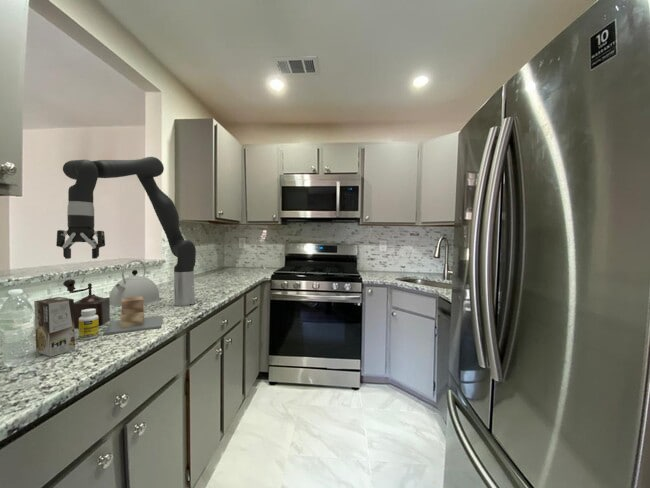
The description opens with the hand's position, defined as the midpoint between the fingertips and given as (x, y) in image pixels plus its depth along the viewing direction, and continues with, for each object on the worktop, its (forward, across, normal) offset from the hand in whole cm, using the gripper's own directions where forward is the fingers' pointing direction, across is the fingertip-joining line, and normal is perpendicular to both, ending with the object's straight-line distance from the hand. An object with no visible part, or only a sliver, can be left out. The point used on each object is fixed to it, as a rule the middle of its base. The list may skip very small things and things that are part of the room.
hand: (81, 258), depth 105 cm
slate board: (+27, -16, -4) cm, 32 cm away
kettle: (+27, +2, -49) cm, 56 cm away
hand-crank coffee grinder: (+28, +5, -11) cm, 30 cm away
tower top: (+21, -15, -4) cm, 27 cm away
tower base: (+26, -15, -4) cm, 31 cm away
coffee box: (+28, -2, +18) cm, 33 cm away
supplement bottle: (+28, -6, +7) cm, 29 cm away
